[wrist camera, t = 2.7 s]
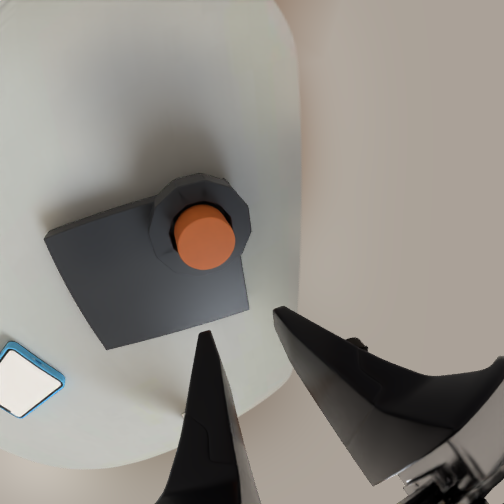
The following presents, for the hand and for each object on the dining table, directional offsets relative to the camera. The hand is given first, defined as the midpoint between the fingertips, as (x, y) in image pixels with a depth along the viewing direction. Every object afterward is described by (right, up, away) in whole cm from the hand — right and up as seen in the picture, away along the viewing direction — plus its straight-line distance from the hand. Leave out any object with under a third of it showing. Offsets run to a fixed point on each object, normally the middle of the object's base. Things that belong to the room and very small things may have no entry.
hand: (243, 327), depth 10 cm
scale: (-7, +1, +10) cm, 12 cm away
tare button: (-3, +4, +7) cm, 8 cm away
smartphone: (-27, -12, +10) cm, 31 cm away
